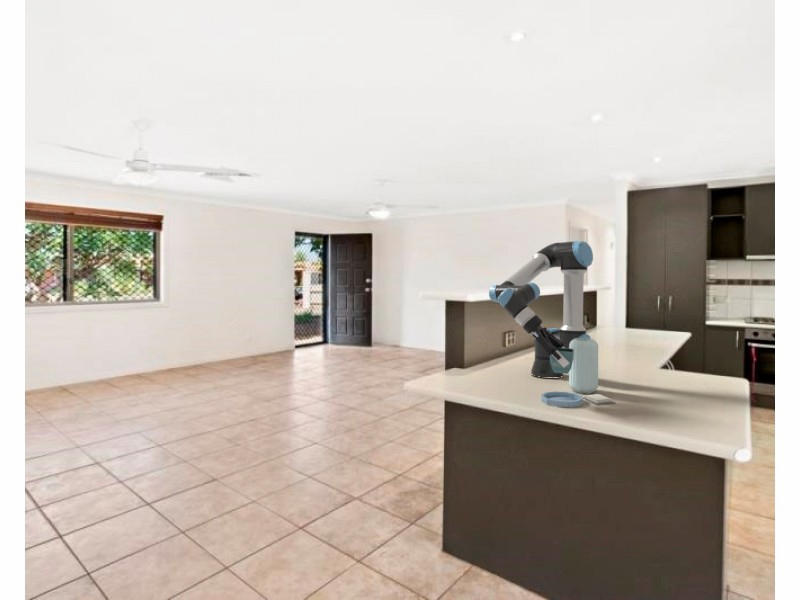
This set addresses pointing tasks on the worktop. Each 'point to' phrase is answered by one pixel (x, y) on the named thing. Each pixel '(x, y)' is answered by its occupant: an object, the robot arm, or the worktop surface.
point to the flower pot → (567, 355)
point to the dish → (562, 399)
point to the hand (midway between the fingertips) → (569, 363)
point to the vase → (584, 365)
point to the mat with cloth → (598, 399)
